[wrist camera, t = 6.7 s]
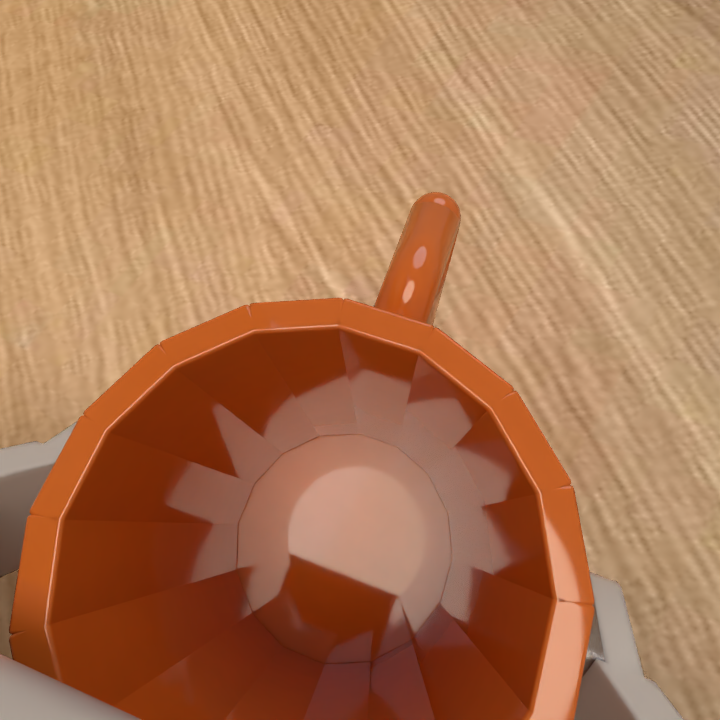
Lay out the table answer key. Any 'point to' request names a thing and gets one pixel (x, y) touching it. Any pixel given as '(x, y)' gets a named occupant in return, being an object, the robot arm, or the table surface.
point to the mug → (312, 523)
